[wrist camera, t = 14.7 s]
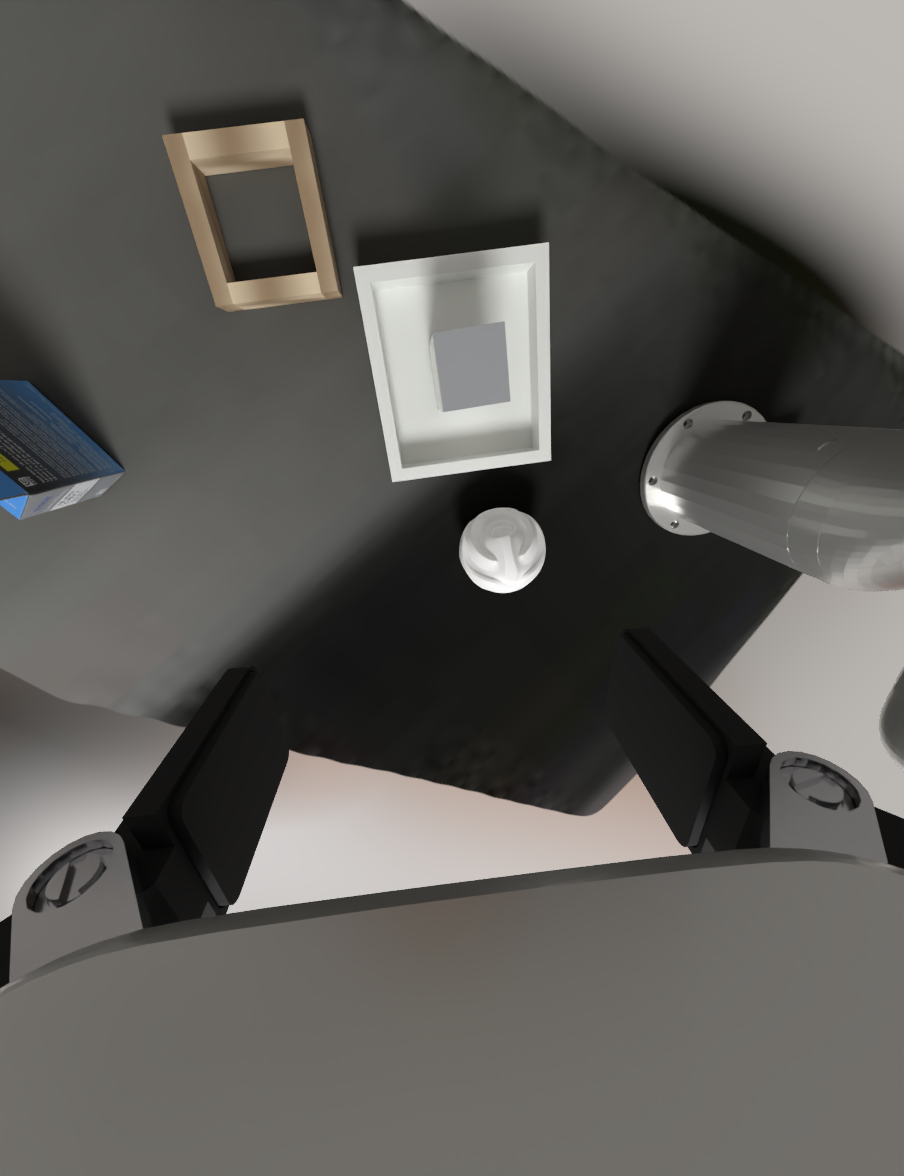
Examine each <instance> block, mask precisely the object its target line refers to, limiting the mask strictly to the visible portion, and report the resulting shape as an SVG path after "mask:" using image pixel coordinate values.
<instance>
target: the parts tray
mask: <svg viewBox="0 0 904 1176" xmlns="http://www.w3.org/2000/svg"><path fill="white" fill-rule="evenodd" d="M353 269H354V274H355V280H356V285H357V291H358V296H359V301H360V307H361V312H362V318H363V323H364V329H365V334H366V340H367V345H368V351H369V356H370V362H371V367H372V373H373V378H374V383H375V389H376V394H377V400H378V405H379V411H380V416H381V422H382V427H383V433H384V438H385V444H386V449H387V455H388V460H389V465H390V471H391V476H392V482H397V481H404V480H412V479H419V478H426V477H434V476H441V475H448V474H456V473H463V472H470V471H477V470H485V469H492V468H499V467H507V466H514V465H521V464H529V463H536V462H543V461H550V460H551V413H550V303H549V242H548V243H540V244H532V245H524V246H516V247H508V248H500V249H492V250H484V251H476V252H468V253H461V254H453V255H445V256H437V257H429V258H421V259H413V260H405V261H397V262H389V263H381V264H374V265H366V266H358V267H353ZM503 321H505V333H506V346H507V360H508V374H509V388H510V402H504V403H497V404H491V405H485V406H479V407H473V408H467V409H460V410H454V411H448V412H442V411H439V410H438V409H437V402H436V395H435V388H434V382H433V375H432V368H431V361H430V354H429V347H430V342H431V338H432V333H435V332H441V331H447V330H453V329H459V328H466V327H472V326H478V325H484V324H490V323H497V322H503Z"/></svg>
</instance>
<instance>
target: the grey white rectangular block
mask: <svg viewBox="0 0 904 1176" xmlns="http://www.w3.org/2000/svg"><path fill="white" fill-rule="evenodd" d="M429 354H430V361H431V368H432V375H433V382H434V388H435V395H436V402H437V409H438V410H439V411H442V412H448V411H454V410H460V409H467V408H473V407H479V406H485V405H491V404H497V403H504V402H510V388H509V374H508V360H507V346H506V333H505V321H503V322H497V323H490V324H484V325H478V326H472V327H466V328H459V329H453V330H447V331H441V332H435V333H432V338H431V342H430V347H429Z"/></svg>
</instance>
